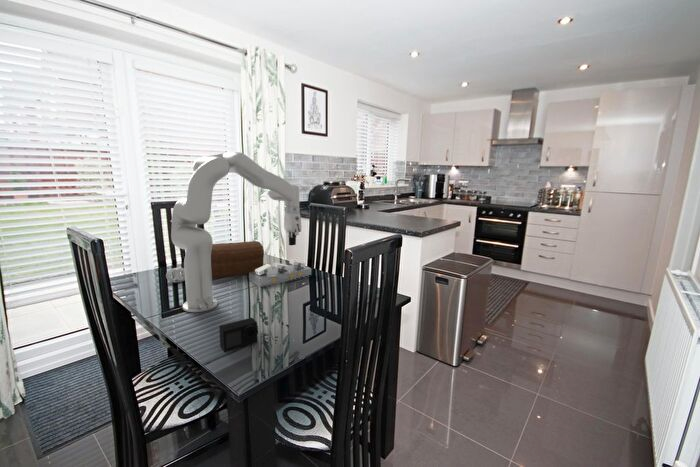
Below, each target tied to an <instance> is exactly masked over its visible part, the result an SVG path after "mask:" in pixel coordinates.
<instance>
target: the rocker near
mask: <svg viewBox="0 0 700 467" xmlns="http://www.w3.org/2000/svg"><path fill="white" fill-rule="evenodd" d="M272 266H273V265H271V264H269V263H266V264H264V265H263V266H262V267H260V268H258V269H256V270H255V272H256V274H258V275H262V274H264V273H267V271H269V270H271V269H272V268H273V267H272Z"/></svg>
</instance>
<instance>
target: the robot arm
mask: <svg viewBox="0 0 700 467" xmlns="http://www.w3.org/2000/svg"><path fill="white" fill-rule="evenodd" d="M192 165H193V166H192V169H193V174H192V175H191V177H190V178H189V181H188V187H187V193H186V194H187V195H186V197H184V198H181V199H179V200H177V201H176V203H175V204H174V205H173V209H172V213H171V214H172V216H171V220H172V222H171V232H170V237H171V238H170V239H171V242H172V244H173V245H174V246H175V248H179V249H182V250H185V256H184V258H183V259H184V260H183V268H184V271H185V280H184V282H185V283H184V284H185V297H186V301H185V302H184V303H183V304H182V310H183V311H185V312H187V313H202V312H207V311H211V310H212V309H215V308H216V307H217V306H218V300H217V299H216V298H214V293H213V292H214V291H213V279H212V269H211V251H212V244H214V243H213V237H212V235H211V234H210V232H208V231H207V230H206V229H204V228H201V227H197V225H204V224H207V223H208V222H209V221H210V218H211V215H212V203H213V202H212V200H213V192H214V188H215V185H216V184H217V182H219V181H220V180H221V179H223V178H225V177H226V176H227V175H228V173H234V174H237V175H239V176H240V177H241V178H243V179H244V180H246V181H247V182H248V183H250V184H251V185H253V186H255V187H257V188H261V189H264V190H267V195H268V197H269V198H271V200H273V201H280V202H281V201H282V202H283V203H284V204H283V205H284V207H283V208H284V209H283V211H284V212H283V213H284V217H283V218H284V220H283V228H284V231H285V232H286V233H287V236H288V246H296V244H297V239H296V238H297V236H299V234H300V232H302V218H301V213H300V187H299V186H298V185H297V184H291V183H289V181H287V180H286V179H284V178H283V177H280V176H278V175H277V174H276V173H275V174H274V173H272V172H271V171H268V170H267V169H264V167H262V166H261V165H259V164H258V163H256V162H255V161H254V160H253V159H251V157H249V156H248V155H247V154H244V153H243V152H239V151H238V152H237V151H236V152H234V151H233V152H222V153H218V154H213V155H212V154H211V155H205V156H201V157H198V158H196V160H194V162H193V164H192Z"/></svg>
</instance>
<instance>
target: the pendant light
mask: <svg viewBox="0 0 700 467" xmlns="http://www.w3.org/2000/svg"><path fill="white" fill-rule="evenodd" d="M170 223H172V219H171V220H170ZM175 261H176V265H178V264H177V263H178V260H177V258H175ZM165 277H166V279H167V281H168V282H170V283H181V282H185V271H184V267H174V268H170V269H168V271H167V272H166V274H165Z"/></svg>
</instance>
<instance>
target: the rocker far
mask: <svg viewBox="0 0 700 467" xmlns="http://www.w3.org/2000/svg"><path fill="white" fill-rule="evenodd" d="M288 262H289V264H290V265H297V266H303V267H304V266H306V263H305V262H302V261H299V260H293V259H289V261H288Z"/></svg>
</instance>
